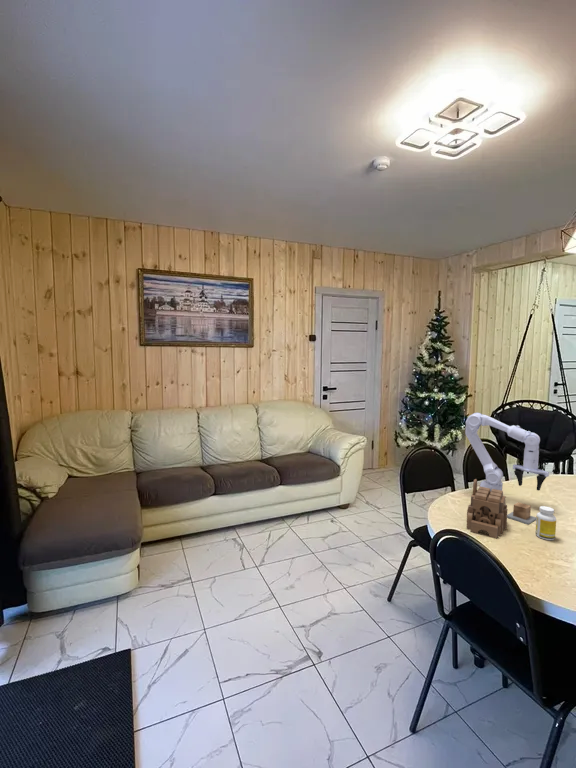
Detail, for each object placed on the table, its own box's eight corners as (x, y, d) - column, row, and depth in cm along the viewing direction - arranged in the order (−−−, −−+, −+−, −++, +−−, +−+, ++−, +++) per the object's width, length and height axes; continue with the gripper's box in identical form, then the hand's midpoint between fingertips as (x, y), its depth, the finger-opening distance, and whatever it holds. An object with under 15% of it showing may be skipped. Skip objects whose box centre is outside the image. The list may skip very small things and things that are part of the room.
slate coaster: (505, 517, 167) (505, 515, 167) (514, 512, 173) (514, 510, 173) (528, 524, 160) (528, 522, 160) (536, 519, 165) (536, 517, 165)
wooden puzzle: (503, 540, 147) (505, 493, 145) (462, 529, 155) (464, 485, 153) (508, 520, 164) (511, 478, 163) (471, 512, 173) (474, 472, 171)
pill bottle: (558, 541, 146) (560, 512, 145) (539, 539, 147) (541, 511, 146) (550, 534, 152) (552, 506, 151) (532, 532, 153) (534, 504, 152)
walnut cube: (513, 515, 167) (513, 504, 167) (517, 513, 170) (518, 502, 170) (525, 519, 163) (526, 508, 163) (530, 516, 166) (530, 505, 166)
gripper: (510, 457, 179) (508, 484, 180) (545, 464, 168) (543, 494, 169) (517, 454, 183) (515, 482, 185) (551, 461, 172) (549, 490, 173)
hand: (529, 487), depth 177 cm, fingers open, 7 cm apart
